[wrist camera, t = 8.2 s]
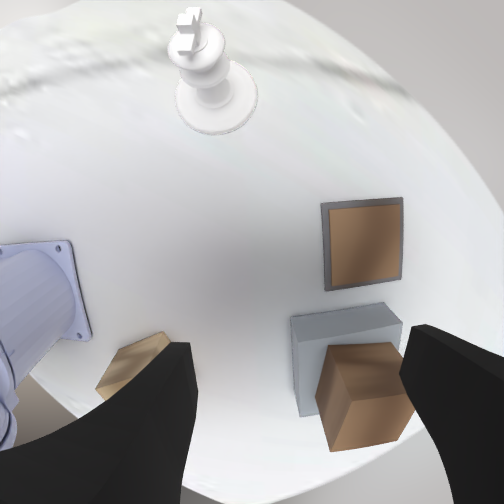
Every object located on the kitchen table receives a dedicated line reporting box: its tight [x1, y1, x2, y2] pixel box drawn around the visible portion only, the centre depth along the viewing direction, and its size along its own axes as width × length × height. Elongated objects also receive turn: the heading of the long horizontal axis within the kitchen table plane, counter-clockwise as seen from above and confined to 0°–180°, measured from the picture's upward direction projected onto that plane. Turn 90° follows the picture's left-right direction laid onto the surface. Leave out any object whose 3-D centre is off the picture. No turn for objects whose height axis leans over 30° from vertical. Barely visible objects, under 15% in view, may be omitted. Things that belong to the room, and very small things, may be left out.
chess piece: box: [168, 7, 258, 135], centre depth 11 cm, size 5×5×10 cm
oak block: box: [95, 331, 196, 401], centre depth 18 cm, size 4×4×5 cm
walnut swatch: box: [321, 197, 403, 291], centre depth 18 cm, size 6×6×1 cm
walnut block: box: [315, 342, 415, 452], centre depth 15 cm, size 4×4×5 cm
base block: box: [291, 302, 403, 417], centre depth 19 cm, size 7×7×4 cm
